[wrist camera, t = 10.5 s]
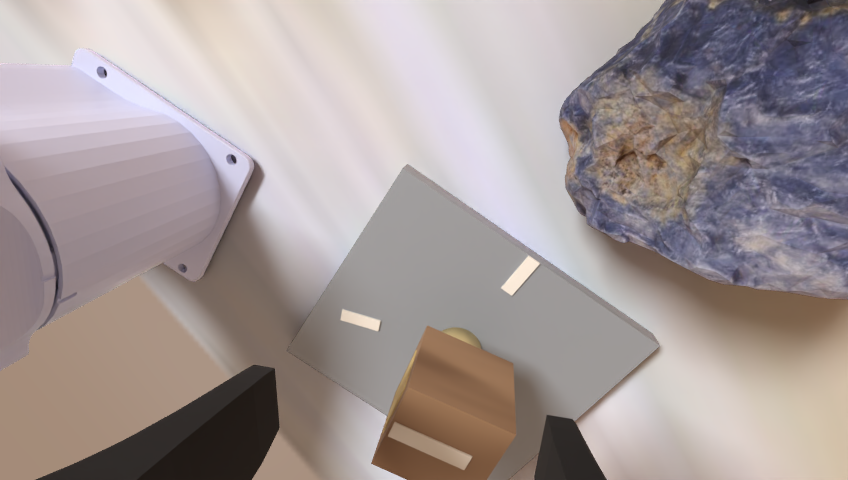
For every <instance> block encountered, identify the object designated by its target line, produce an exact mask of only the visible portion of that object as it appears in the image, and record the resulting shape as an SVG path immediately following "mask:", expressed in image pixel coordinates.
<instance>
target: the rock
mask: <svg viewBox="0 0 848 480" xmlns="http://www.w3.org/2000/svg"><path fill="white" fill-rule="evenodd" d="M559 122H560V127H561V130H562V131H563V133H564V135H565V138H566V140H567V142H568V145H569V155H570V157H571V159H570V160H569V162H568V164H567V172H566V175H565V185H566V190H567V191H568V193H569V195H570V197H571V199H572V201H573V202H574V204H575V206H576V208H577V210H578V211H579V213H580V214H582V215H584V216H586V217H587V224H588V225H589V226H591V227H592V228H594V229H596V230H599V231H601V232H603V233H605V234H606V235H608V236H609V237H611V238H613V239H614V240H617V241H620V242H623V243H625V242H628V241H630V242H633V243H635V244H637V245H640V246H642V247H645V248H647V249H650V250H652V251H654V252H656V253H658V254H660V255H662V256H664V257H666V258H667V259H669V260H671V261H673V262H675V263H677V264H679V265H681V266H682V267H684V268H686V269H688V270H690V271H692V272H694V273H696V274H698V275H700V276H702V277H704V278H706V279H708V280H711V281H714V282H718V283H721V284H726V285H738V286H748V287H751V288H754V289H757V290H773V291H781V292H788V293H795V294H801V295H806V296H812V297H818V298H828V299H848V0H666V1H665V2H664V3H663V4H662V6H661V7H660V9H659V10H658V11H657V12H656V13H655V15H654V17H653V19H652V20H651V21H650V22H649V23H647V24H646V25H645V26H644V27H643V28H642V29H641V30H640V31H639V32H638V33H637V35H636V37H635V38H634V39H633V40H632V41H631V42H629V43H628V44H626V45H625V46H623V47H622V48H620V49H619V50H618V52H617V54H616V55H615V56H614V57H613V58H611V59H610V60H609V61H608V62H607V63H605V64H604V65H603V66H602V67H600V68H599V69H598V70H596V71H595V72H594V73H593V74H592V75H591V76H590V77H588V78H587V79H586V80H585V81H584V82H582V83H581V84H580V85H579V86H578V87H577V88H576V89H575V90H573V91H572V93H571V94H570V95H569V96H568V97H567V99H566V100H565V101H564V103H563V105H562V107H561V110H560V116H559Z"/></svg>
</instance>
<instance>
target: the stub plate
mask: <svg viewBox="0 0 848 480" xmlns="http://www.w3.org/2000/svg"><path fill="white" fill-rule="evenodd" d="M427 326H430V327H432V328H434V329H437V330H439V331H441V332H443V333H446V334H448V335H450V336H452V337H455V338H457V339H459V340H462V341H464V342H466V343H468V344H471V345H473V346H475V347H477V348H480V349H482V350H484V351H487V352H489V353H491V354H493V355H496V356H498V357H500V358H502V359H505V360H507V361H509V362H512V363H513V368H514V391H515V415H516V436H515V438H514V439H513V441H512V442H511V444H510V445H509V447H508V448H507V450H506V451H505V453H504V454H503V456H502V458H501V459H500V461H499V462H498V464H497V465H496V467H495V468H494V470H493V471H492V473H491V474H490V476H489V477H488V479H487V480H509V479H510V478H511V477H512V476H513V475H514V474H516V473H517V472H518V471H519V470H520V469H521V468H522V467H524V466H525V465H526V464H527V463H528V462H529V461H530V460H531V459H533V458H534V457H535V456H536V455H537V454H538V453H539V451H540V446H541V441H542V436H543V431H544V426H545V421H546V416H547V415H552V416H558V417H564V418H570V419H573V420H574V421H576V420H577V419H578V418H579V417H580V416H581V415H582V414H584V413H585V412H586V411H587V410H588V409H589V408H590V407H591V406H593V405H594V404H595V403H596V402H597V401H598V400H599V399H600V398H602V397H603V396H604V395H605V394H606V393H607V392H608V391H610V390H611V389H612V388H613V387H614V386H615V385H616V384H617V383H619V382H620V381H621V380H622V379H623V378H624V377H625V376H627V375H628V374H629V373H630V372H631V371H632V370H633V369H634V368H636V367H637V366H638V365H639V364H640V363H641V362H642V361H644V360H645V359H646V358H647V357H648V356H649V355H650V354H651V353H653V352H654V351H655V350H656V349H657V348H658V347H659V346H660V345H659V343H658V342H657V340H656V338H655V337H654V335H653V334H652V333H651V332H649V331H648V330H647V329H645V328H644V327H642V326H641V325H639V324H638V323H636V322H635V321H634V320H632V319H631V318H629V317H628V316H626V315H625V314H623V313H622V312H621V311H619V310H618V309H616V308H615V307H613V306H612V305H610V304H609V303H608V302H606V301H605V300H603V299H602V298H600V297H599V296H597V295H596V294H594V293H593V292H592V291H590V290H589V289H587V288H586V287H584V286H583V285H581V284H580V283H579V282H577V281H576V280H574V279H573V278H571V277H570V276H568V275H567V274H566V273H564V272H563V271H561V270H560V269H558V268H557V267H555V266H554V265H553V264H551V263H550V262H548V261H547V260H545V259H544V258H542V257H541V256H540V255H538V254H537V253H535V252H534V251H532V250H531V249H529V248H528V247H527V246H525V245H524V244H522V243H521V242H519V241H518V240H516V239H515V238H514V237H512V236H511V235H509V234H508V233H506V232H505V231H503V230H502V229H501V228H499V227H498V226H496V225H495V224H493V223H492V222H490V221H489V220H488V219H486V218H485V217H483V216H482V215H480V214H479V213H477V212H476V211H474V210H473V209H472V208H470V207H469V206H467V205H466V204H464V203H463V202H461V201H460V200H459V199H457V198H456V197H454V196H453V195H451V194H450V193H448V192H447V191H446V190H444V189H443V188H441V187H440V186H438V185H437V184H435V183H434V182H433V181H431V180H430V179H428V178H427V177H425V176H424V175H422V174H421V173H420V172H418V171H417V170H415V169H414V168H412V167H411V166H409V165H408V164H407V165H406V166H405V167H404V168H403V169H402V170H401V172H400V174H399V175H398V177H397V178H396V180H395V181H394V183H393V185H392V186H391V188H390V189H389V191H388V192H387V194H386V196H385V197H384V199H383V200H382V202H381V203H380V205H379V206H378V208H377V210H376V211H375V213H374V214H373V216H372V217H371V219H370V221H369V222H368V224H367V225H366V227H365V228H364V230H363V232H362V233H361V235H360V236H359V238H358V239H357V241H356V242H355V244H354V246H353V247H352V249H351V250H350V252H349V253H348V255H347V257H346V258H345V260H344V261H343V263H342V264H341V266H340V268H339V269H338V271H337V272H336V274H335V275H334V277H333V278H332V280H331V282H330V283H329V285H328V286H327V288H326V289H325V291H324V293H323V294H322V296H321V297H320V299H319V300H318V302H317V304H316V305H315V307H314V308H313V310H312V311H311V313H310V314H309V316H308V318H307V319H306V321H305V322H304V324H303V325H302V327H301V329H300V330H299V332H298V333H297V335H296V336H295V338H294V340H293V341H292V343H291V344H290V346H289V347H288V349H287V351H288V352H289V353H291V354H292V355H294V356H295V357H297V358H298V359H300V360H301V361H303V362H305V363H306V364H308V365H309V366H311V367H312V368H314V369H315V370H317V371H318V372H320V373H322V374H323V375H325V376H326V377H328V378H329V379H331V380H332V381H334V382H335V383H337V384H339V385H340V386H342V387H343V388H345V389H346V390H348V391H349V392H351V393H352V394H354V395H356V396H357V397H359V398H360V399H362V400H363V401H365V402H366V403H368V404H369V405H371V406H373V407H374V408H376V409H377V410H379V411H380V412H382V413H383V414H385V415H386V416H388V413H389V410H390V407H391V404H392V401H393V398H394V395H395V392H396V390H397V388H398V386H399V384H400V382H401V380H402V377H403V375H404V373H405V371H406V369H407V367H408V365H409V363H410V361H411V359H412V356H413V354H414V352H415V350H416V348H417V346H418V344H419V342H420V340H421V337H422V335H423V333H424V331H425V329H426V327H427Z"/></svg>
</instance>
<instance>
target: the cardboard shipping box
mask: <svg viewBox="0 0 848 480" xmlns="http://www.w3.org/2000/svg"><path fill="white" fill-rule="evenodd" d="M515 436H516V415H515V391H514V368H513V363H512V362H509V361H507V360H505V359H502V358H500V357H498V356H496V355H493V354H491V353H489V352H487V351H484V350H482V349H480V348H477V347H475V346H473V345H471V344H468V343H466V342H464V341H462V340H459V339H457V338H455V337H452V336H450V335H448V334H446V333H443V332H441V331H439V330H437V329H434V328H432V327H430V326H427V327H426V329H425V331H424V333H423V335H422V337H421V340H420V342H419V344H418V346H417V348H416V350H415V352H414V354H413V356H412V359H411V361H410V363H409V365H408V367H407V369H406V371H405V373H404V375H403V377H402V380H401V382H400V384H399V386H398V388H397V390H396V392H395V395H394V398H393V401H392V404H391V407H390V410H389V413H388V416H387V419H386V422H385V425H384V428H383V430H382V433H381V436H380V439H379V442H378V445H377V448H376V451H375V454H374V457H373V460H372V463H371V464H373V465H376V466H378V467H380V468H382V469H384V470H387V471H389V472H391V473H393V474H396V475H398V476H400V477H402V478H405V479H407V480H487V479H488V477H489V476H490V474H491V473H492V471H493V470H494V468H495V467H496V465H497V464H498V462H499V461H500V459H501V458H502V456H503V454H504V453H505V451H506V450H507V448H508V447H509V445H510V444H511V442H512V441H513V439H514V438H515Z"/></svg>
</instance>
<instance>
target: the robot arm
mask: <svg viewBox="0 0 848 480" xmlns="http://www.w3.org/2000/svg"><path fill="white" fill-rule="evenodd" d="M104 69H105V70H106V72H107V77H106V76H105V73H104ZM231 155H234V156H235V157H236V160H237V161H236V163H234V162H233V161H232V159H231ZM253 170H254V162H253V160H252V159H251V158H250V157H249V156H248V155H247V154H245V153H244V152H242V151H241V150H239V149H238V148H236V147H235V146H233V145H232V144H230V143H229V142H227V141H226V140H224V139H223V138H221V137H220V136H218V135H217V134H216V133H214V132H213V131H211V130H210V129H208V128H207V127H205V126H204V125H202V124H201V123H199V122H198V121H196V120H195V119H193V118H192V117H190V116H189V115H187V114H186V113H184V112H183V111H181V110H180V109H178V108H177V107H176V106H174V105H173V104H171V103H170V102H168V101H167V100H165V99H164V98H162V97H161V96H159V95H158V94H156V93H155V92H153V91H152V90H150V89H149V88H147V87H146V86H144V85H143V84H141V83H140V82H139V81H137V80H136V79H134V78H133V77H131V76H130V75H128V74H127V73H125V72H124V71H122V70H121V69H119V68H118V67H116V66H115V65H113V64H112V63H110V62H109V61H107V60H106V59H104V58H103V57H101V56H100V55H99V54H97V53H96V52H94V51H93V50H90V49H87V48H79V49H77V50H76V51H75V53H74V57H73V61H72V65H71V66H70V65H42V64H14V63H0V371H1V370H2V369H4V368H6V367H8V366H9V365H11V364H13V363H14V362H16V361H18V360H20V359H21V358H23V357H25V356H26V355H28V353H29V348H28V344H29V340H30V337H31V336H32V334H33V333H34V332H35V331H36V330H38V329H40V328H42V327H44V326H46V325H47V324H49V323H51V322H53V321H55V320H57V319H59V318H61V317H63V316H64V315H66V314H68V313H70V312H72V311H74V310H76V309H77V308H79V307H81V306H83V305H85V304H87V303H89V302H91V301H92V300H94V299H96V298H98V297H100V296H102V295H104V294H105V293H107V292H109V291H111V290H113V289H115V288H117V287H119V286H120V285H122V284H124V283H126V282H128V281H130V280H132V279H133V278H135V277H137V276H139V275H141V274H143V273H145V272H146V271H148V270H150V269H152V268H154V267H156V266H158V265H160V264H161V263H163V264H165V265H166V266H168V267H169V268H171V269H172V270H174V271H175V272H177V273H178V274H180V275H182V276H183V277H185V278H186V279H188V280H190V281H197V280H199V279H200V278H202V276H203V275H204V273H205V271H206V268H207V266H208V264H209V262H210V260H211V258H212V256H213V254H214V252H215V250H216V248H217V245H218V243H219V241H220V239H221V237H222V235H223V233H224V231H225V229H226V227H227V225H228V222H229V220H230V218H231V216H232V214H233V212H234V210H235V208H236V206H237V204H238V202H239V200H240V197H241V195H242V193H243V191H244V189H245V187H246V185H247V183H248V181H249V179H250V177H251V174H252V172H253ZM183 264H184V265H185V266H186V267H187V269H186V268H185V267H184V266H183ZM278 430H279V416H278V404H277V391H276V379H275V368H269V367H263V366H257V365H253V366H251V367H249V368H248V369H246V370H244V371H242V372H241V373H239V374H237V375H236V376H234V377H232V378H231V379H229V380H227V381H226V382H224V383H223V384H221V385H219V386H218V387H216V388H214V389H213V390H211V391H209V392H208V393H206V394H204V395H203V396H201V397H199V398H198V399H196V400H194V401H193V402H191V403H189V404H188V405H186V406H184V407H183V408H181V409H179V410H178V411H176V412H174V413H172V414H171V415H169V416H167V417H165V418H163V419H161V420H160V421H158V422H156V423H155V424H152V425H151V426H149V427H147V428H145V429H143V430H142V431H140V432H138V433H137V434H135V435H133V436H131V437H129V438H127V439H125V440H123V441H121V442H119V443H117V444H115V445H113V446H111V447H109V448H107V449H105V450H102V451H100V452H98V453H96V454H94V455H92V456H90V457H88V458H85V459H83V460H81V461H79V462H77V463H74V464H72V465H70V466H68V467H65V468H63V469H61V470H58V471H56V472H53V473H51V474H48V475H46V476H43V477H41V478H39V479H36V480H252V478H253V477H254V475H255V473H256V472H257V470H258V469H259V467H260V466H261V464H262V462H263V460H264V458H265V456H266V454H267V452H268V450H269V448H270V446H271V444H272V442H273V440H274V438H275V436H276V434H277V432H278ZM535 480H607V479H606V478H605V476H604V474H603V472H602V471H601V469H600V467H599V466H598V464H597V462H596V460H595V458H594V457H593V455H592V453H591V451H590V449H589V448H588V446H587V444H586V442H585V440H584V438H583V436H582V434H581V432H580V430H579V429H578V427H577V425H576V423H575V422H574V420H573V419H570V418H564V417H558V416H552V415H547V416H546V421H545V426H544V431H543V436H542V441H541V446H540V451H539V456H538V461H537V466H536V471H535Z"/></svg>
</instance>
